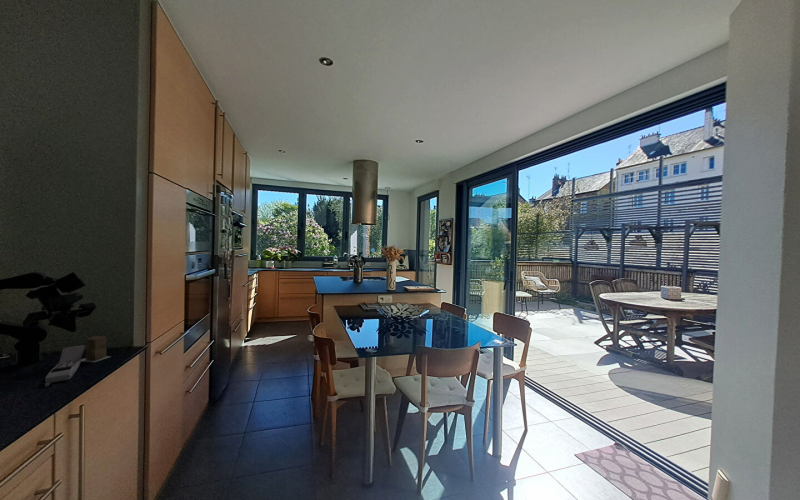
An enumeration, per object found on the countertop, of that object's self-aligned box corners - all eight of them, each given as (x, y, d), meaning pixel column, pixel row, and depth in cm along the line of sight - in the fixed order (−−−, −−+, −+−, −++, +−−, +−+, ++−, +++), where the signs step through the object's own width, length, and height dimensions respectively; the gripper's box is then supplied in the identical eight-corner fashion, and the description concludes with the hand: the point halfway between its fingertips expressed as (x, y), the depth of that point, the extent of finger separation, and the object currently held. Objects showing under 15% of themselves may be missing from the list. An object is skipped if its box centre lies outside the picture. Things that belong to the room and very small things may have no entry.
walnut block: (85, 359, 116) (85, 339, 116) (97, 356, 120) (97, 336, 120) (95, 360, 116) (95, 339, 115) (106, 356, 120) (106, 336, 119)
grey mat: (76, 362, 115) (76, 361, 115) (94, 356, 121) (94, 355, 121) (94, 363, 114) (94, 362, 114) (111, 357, 120) (111, 356, 120)
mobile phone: (86, 344, 118) (68, 365, 98) (86, 359, 118) (69, 383, 98) (63, 347, 114) (40, 370, 94) (63, 363, 115) (41, 388, 95)
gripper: (26, 290, 105) (51, 324, 103) (92, 282, 123) (114, 311, 121) (12, 311, 107) (35, 345, 105) (78, 300, 125) (99, 329, 123)
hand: (74, 331), depth 113 cm, fingers closed
